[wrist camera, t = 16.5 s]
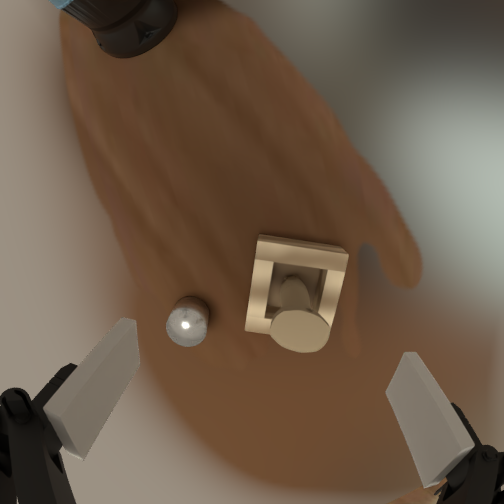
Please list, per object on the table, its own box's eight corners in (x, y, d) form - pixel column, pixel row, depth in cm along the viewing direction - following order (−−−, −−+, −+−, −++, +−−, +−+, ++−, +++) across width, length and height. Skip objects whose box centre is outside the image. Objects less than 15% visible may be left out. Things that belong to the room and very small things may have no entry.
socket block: (259, 234, 42) (257, 240, 38) (340, 246, 42) (348, 254, 37) (247, 315, 46) (244, 330, 41) (322, 325, 45) (327, 340, 40)
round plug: (197, 335, 47) (193, 353, 41) (167, 317, 46) (159, 332, 40) (216, 309, 46) (214, 324, 40) (185, 289, 45) (178, 302, 39)
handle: (304, 304, 44) (316, 358, 30) (266, 289, 44) (263, 340, 29) (317, 277, 43) (337, 323, 28) (278, 261, 43) (281, 302, 28)
